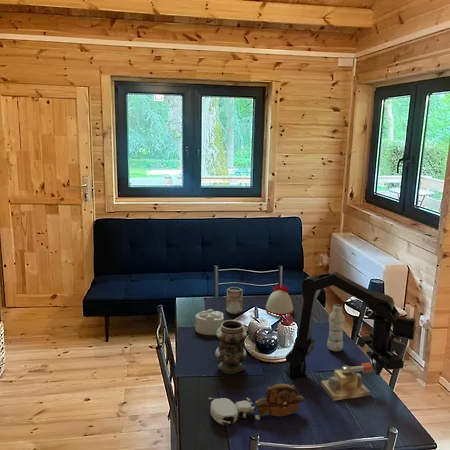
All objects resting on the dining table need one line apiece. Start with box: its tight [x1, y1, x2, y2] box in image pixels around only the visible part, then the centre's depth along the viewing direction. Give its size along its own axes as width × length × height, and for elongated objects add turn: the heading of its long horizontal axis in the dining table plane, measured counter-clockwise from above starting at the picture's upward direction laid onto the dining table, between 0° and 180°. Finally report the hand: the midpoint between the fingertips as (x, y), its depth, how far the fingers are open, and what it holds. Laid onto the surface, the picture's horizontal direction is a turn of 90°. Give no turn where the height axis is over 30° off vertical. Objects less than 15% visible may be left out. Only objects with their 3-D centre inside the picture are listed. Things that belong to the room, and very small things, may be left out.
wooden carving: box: [254, 383, 305, 417], centre depth 142 cm, size 16×5×10 cm, turn 106°
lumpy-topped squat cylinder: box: [194, 308, 225, 336], centre depth 203 cm, size 10×13×9 cm
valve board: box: [320, 368, 371, 401], centre depth 157 cm, size 14×10×7 cm
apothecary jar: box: [214, 319, 248, 375], centre depth 170 cm, size 12×12×18 cm
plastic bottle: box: [326, 303, 346, 353], centre depth 185 cm, size 6×7×20 cm
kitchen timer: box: [265, 283, 294, 316], centre depth 225 cm, size 14×14×15 cm
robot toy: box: [208, 397, 261, 425], centre depth 142 cm, size 12×4×15 cm
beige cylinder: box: [225, 286, 244, 315], centre depth 224 cm, size 9×8×12 cm
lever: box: [341, 362, 374, 374], centre depth 157 cm, size 11×3×2 cm, turn 103°
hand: (377, 374), depth 152 cm, fingers closed
